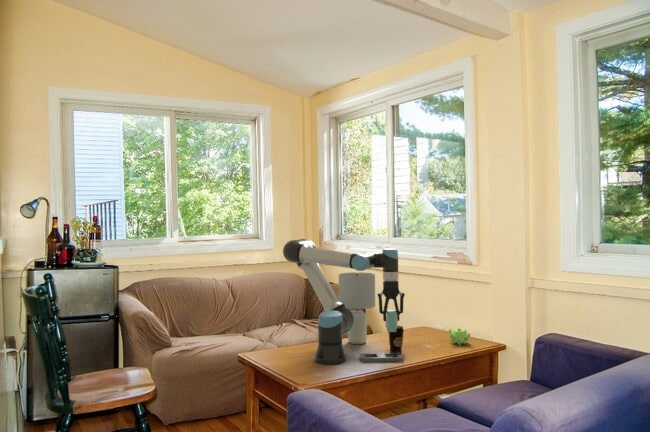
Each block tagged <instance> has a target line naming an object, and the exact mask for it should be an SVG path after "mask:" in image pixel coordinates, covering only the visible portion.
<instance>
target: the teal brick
mask: <svg viewBox="0 0 650 432" xmlns="http://www.w3.org/2000/svg"><path fill="white" fill-rule="evenodd" d="M386 314H387V315H388V328H386V331H387V332H388V333H389V332H396V309H387V312H386Z"/></svg>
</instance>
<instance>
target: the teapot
mask: <svg viewBox="0 0 650 432" xmlns="http://www.w3.org/2000/svg"><path fill="white" fill-rule="evenodd" d="M448 332H449V335H448V336H449V337H450V338H449V339H450V341H451V342H452V343H453V344H454V345H455V344H458V346H462V345H466V344H467V342H468V341H469V338H470V337H471V334H470V333H467V330H466V329H462V328H461V327H457V329H454V330H453V331H452V329H449V330H448Z"/></svg>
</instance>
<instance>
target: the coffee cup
mask: <svg viewBox="0 0 650 432" xmlns="http://www.w3.org/2000/svg"><path fill="white" fill-rule="evenodd" d="M397 327H398V328H396V332H388V341H389V342H388V343H389V353H400V354H401V353H402V351H403V350H402V348H403V345H404V344H403V343H404V342H403V340H404V331H405V329H404V327H403V326H402V325H397Z"/></svg>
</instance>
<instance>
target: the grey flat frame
mask: <svg viewBox="0 0 650 432" xmlns="http://www.w3.org/2000/svg"><path fill="white" fill-rule="evenodd" d="M359 358H360V361H361V363H397V362H399V363H400V362H402V363H403V362H404V356H403V355H402V354H401V352H400V353H392V352H377V353H375V352H373V353H372V352H370V353H367V352H365V353H359Z"/></svg>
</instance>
